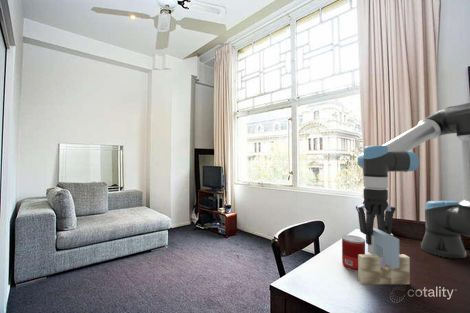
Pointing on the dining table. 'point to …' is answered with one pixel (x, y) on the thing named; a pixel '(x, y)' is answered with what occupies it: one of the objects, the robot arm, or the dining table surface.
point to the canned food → (352, 251)
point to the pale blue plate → (386, 247)
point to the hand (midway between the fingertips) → (375, 253)
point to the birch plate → (382, 270)
